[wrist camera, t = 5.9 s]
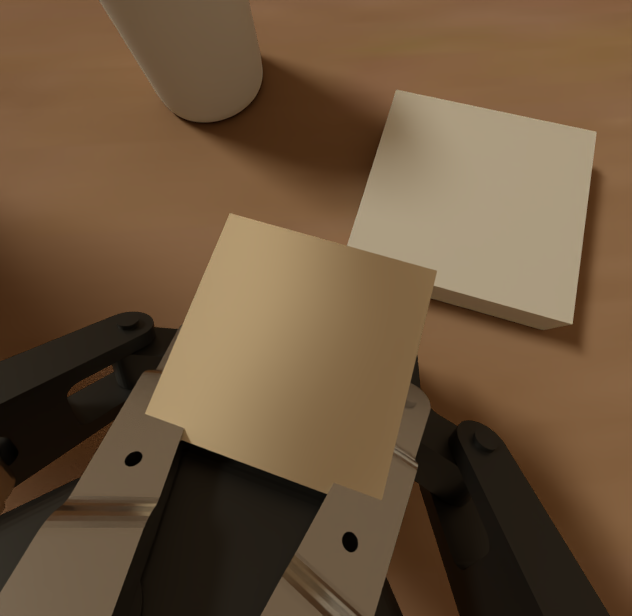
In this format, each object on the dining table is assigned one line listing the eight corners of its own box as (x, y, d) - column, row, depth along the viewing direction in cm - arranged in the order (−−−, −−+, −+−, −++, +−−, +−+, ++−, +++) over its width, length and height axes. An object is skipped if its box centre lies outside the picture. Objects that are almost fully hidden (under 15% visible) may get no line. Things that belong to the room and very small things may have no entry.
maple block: (265, 390, 16) (140, 424, 5) (291, 315, 17) (229, 213, 6) (342, 416, 15) (379, 513, 5) (364, 337, 16) (437, 270, 6)
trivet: (340, 272, 17) (342, 260, 15) (389, 117, 20) (396, 89, 18) (543, 330, 16) (572, 324, 14) (568, 157, 19) (596, 131, 17)
